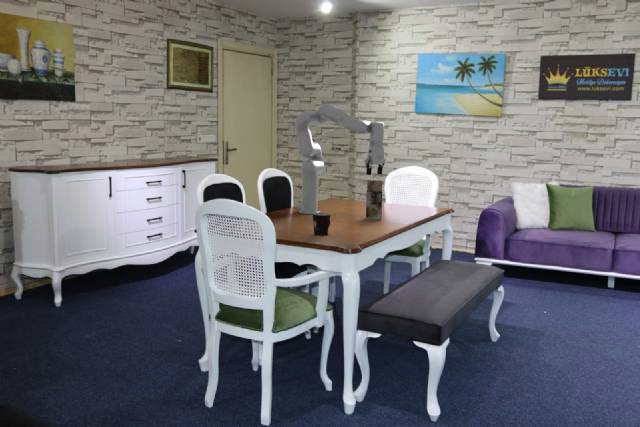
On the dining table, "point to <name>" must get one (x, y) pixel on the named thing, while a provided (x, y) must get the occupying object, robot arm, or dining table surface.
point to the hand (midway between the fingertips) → (374, 174)
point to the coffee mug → (321, 223)
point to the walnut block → (374, 185)
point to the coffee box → (374, 205)
